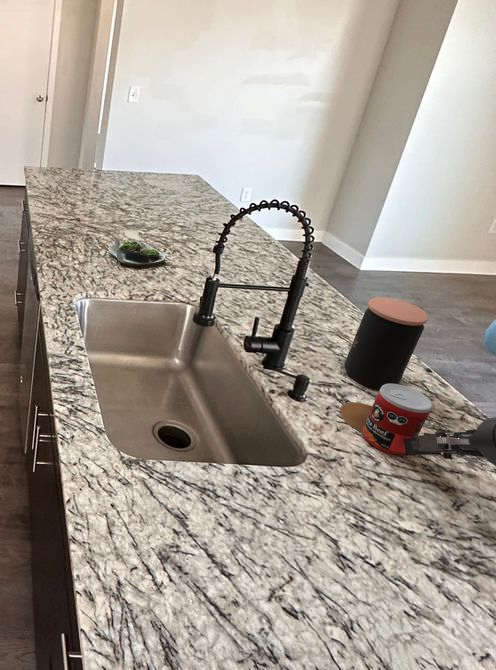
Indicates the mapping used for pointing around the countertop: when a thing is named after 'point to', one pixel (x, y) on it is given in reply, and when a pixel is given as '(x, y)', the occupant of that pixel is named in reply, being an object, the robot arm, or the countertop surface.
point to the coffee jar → (384, 342)
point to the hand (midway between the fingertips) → (408, 446)
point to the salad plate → (136, 254)
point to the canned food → (396, 417)
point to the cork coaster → (355, 414)
